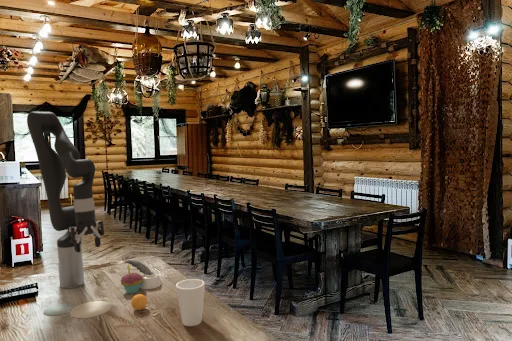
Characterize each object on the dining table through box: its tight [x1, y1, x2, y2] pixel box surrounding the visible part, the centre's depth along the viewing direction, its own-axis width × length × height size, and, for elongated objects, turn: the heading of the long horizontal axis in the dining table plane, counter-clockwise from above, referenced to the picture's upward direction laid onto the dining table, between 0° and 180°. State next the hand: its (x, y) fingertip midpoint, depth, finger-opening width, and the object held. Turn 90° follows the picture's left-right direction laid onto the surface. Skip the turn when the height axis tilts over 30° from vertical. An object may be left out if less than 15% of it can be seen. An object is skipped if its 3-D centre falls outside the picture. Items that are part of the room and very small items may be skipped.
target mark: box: [69, 300, 112, 319], centre depth 151 cm, size 14×14×1 cm
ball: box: [130, 293, 148, 311], centre depth 149 cm, size 6×6×6 cm
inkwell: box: [123, 259, 162, 290], centre depth 175 cm, size 9×18×10 cm, turn 69°
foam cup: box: [175, 278, 206, 327], centre depth 138 cm, size 10×9×13 cm
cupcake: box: [120, 264, 143, 294], centre depth 167 cm, size 9×8×12 cm
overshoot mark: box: [43, 302, 75, 317], centre depth 152 cm, size 10×10×1 cm
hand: (88, 249), depth 168 cm, fingers open, 8 cm apart
